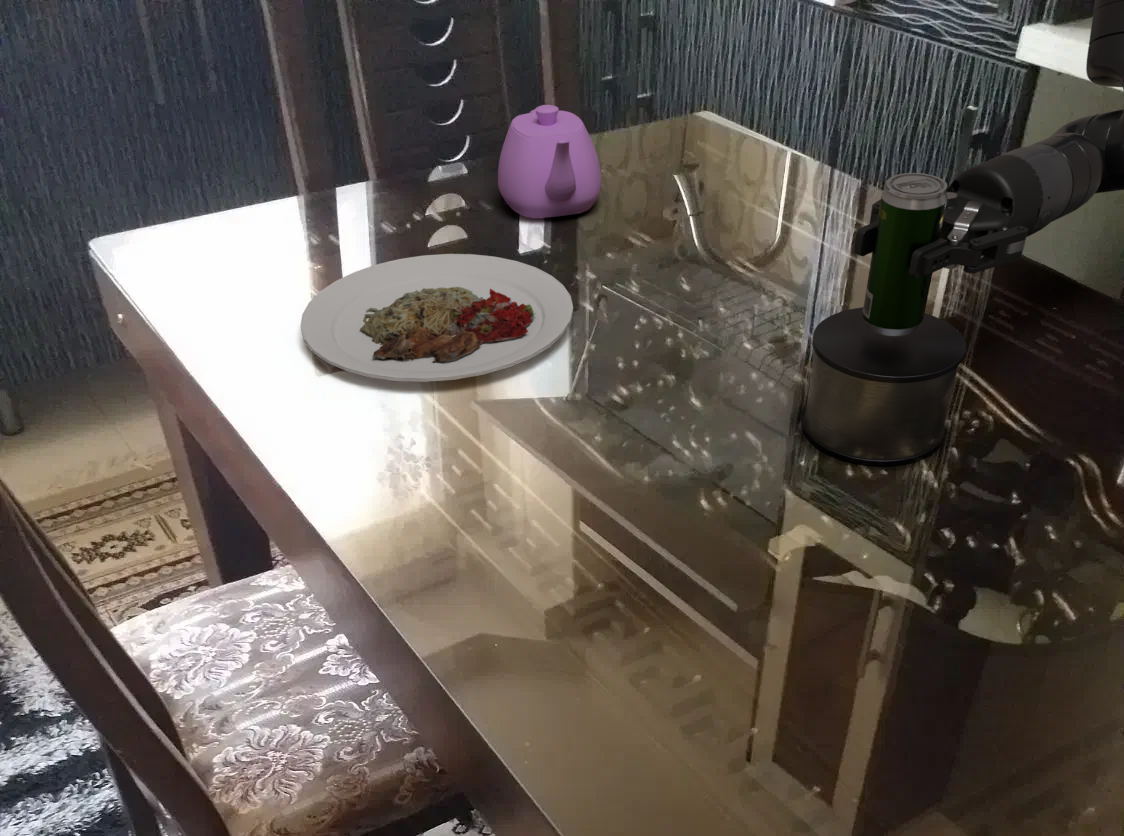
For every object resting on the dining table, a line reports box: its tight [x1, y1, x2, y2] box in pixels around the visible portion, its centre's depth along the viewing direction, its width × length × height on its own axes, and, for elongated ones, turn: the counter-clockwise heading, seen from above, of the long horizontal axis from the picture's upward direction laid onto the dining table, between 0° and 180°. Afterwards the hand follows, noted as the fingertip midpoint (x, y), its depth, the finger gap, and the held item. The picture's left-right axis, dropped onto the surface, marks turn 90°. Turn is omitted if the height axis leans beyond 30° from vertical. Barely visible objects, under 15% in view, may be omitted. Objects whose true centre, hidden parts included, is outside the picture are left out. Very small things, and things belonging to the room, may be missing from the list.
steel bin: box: [801, 306, 967, 467], centre depth 107 cm, size 14×14×9 cm
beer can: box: [862, 172, 948, 336], centre depth 99 cm, size 5×5×12 cm
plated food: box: [300, 253, 574, 383], centre depth 127 cm, size 30×30×3 cm
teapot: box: [497, 104, 602, 220], centre depth 146 cm, size 20×13×12 cm, turn 13°
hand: (886, 254), depth 97 cm, fingers closed on beer can, 5 cm apart
